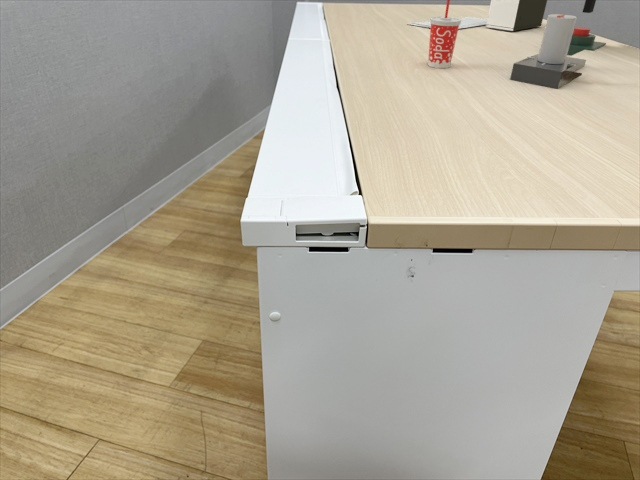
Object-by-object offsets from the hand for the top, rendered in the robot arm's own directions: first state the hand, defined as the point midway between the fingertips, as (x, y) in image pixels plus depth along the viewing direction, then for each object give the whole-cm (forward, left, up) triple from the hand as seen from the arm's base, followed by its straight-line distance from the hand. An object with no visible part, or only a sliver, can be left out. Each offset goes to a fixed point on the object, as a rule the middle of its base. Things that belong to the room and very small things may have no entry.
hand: (587, 12), depth 112 cm
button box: (0, 0, -9) cm, 9 cm away
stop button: (0, 0, -5) cm, 5 cm away
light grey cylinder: (-4, +30, -6) cm, 31 cm away
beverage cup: (+16, +37, -9) cm, 41 cm away
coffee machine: (+35, -18, -9) cm, 41 cm away
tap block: (-4, +30, -9) cm, 31 cm away
